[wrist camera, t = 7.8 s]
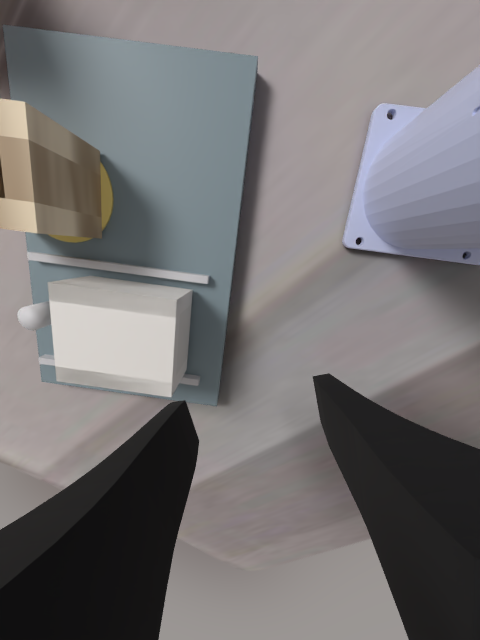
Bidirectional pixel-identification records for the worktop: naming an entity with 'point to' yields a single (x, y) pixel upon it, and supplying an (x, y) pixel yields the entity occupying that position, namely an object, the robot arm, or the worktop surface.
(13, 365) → the worktop surface
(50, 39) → the board
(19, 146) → the collar
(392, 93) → the worktop surface
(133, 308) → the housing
